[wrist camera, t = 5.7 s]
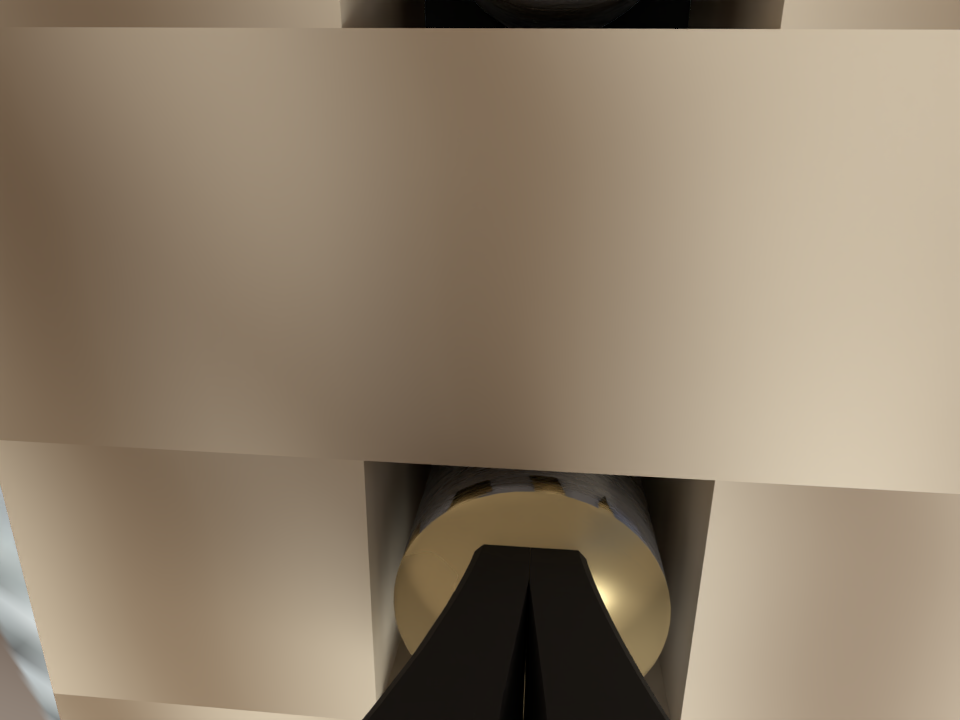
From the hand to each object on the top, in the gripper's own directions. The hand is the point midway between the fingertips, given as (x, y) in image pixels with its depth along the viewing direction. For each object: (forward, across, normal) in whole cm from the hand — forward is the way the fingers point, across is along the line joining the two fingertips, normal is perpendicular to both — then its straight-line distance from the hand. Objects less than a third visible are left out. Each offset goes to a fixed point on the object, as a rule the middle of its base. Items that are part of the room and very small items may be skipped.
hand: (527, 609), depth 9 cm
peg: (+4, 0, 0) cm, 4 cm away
